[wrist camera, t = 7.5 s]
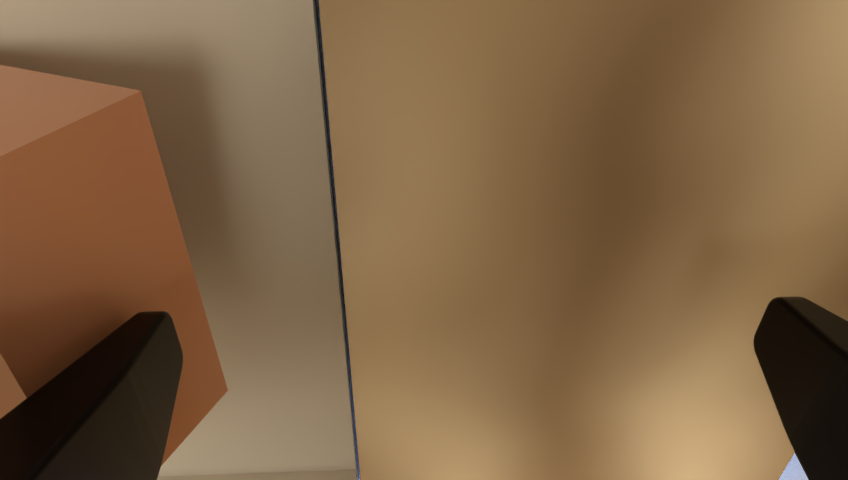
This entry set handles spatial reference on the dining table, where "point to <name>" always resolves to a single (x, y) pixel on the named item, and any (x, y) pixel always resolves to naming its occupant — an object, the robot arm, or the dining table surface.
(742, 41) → the wooden board
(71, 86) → the block
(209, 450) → the box
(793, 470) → the dining table surface
